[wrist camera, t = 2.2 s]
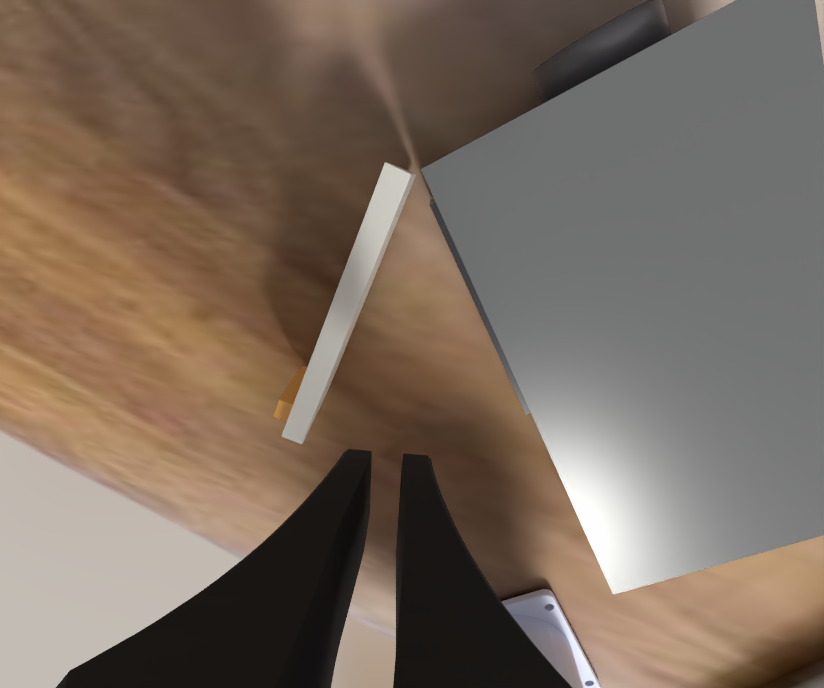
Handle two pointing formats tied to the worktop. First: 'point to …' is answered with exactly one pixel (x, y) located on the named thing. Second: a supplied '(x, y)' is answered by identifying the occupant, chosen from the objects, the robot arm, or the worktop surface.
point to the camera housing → (662, 279)
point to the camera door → (345, 304)
